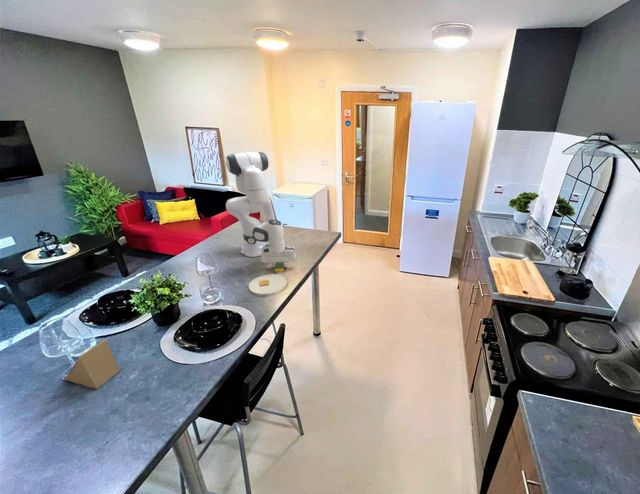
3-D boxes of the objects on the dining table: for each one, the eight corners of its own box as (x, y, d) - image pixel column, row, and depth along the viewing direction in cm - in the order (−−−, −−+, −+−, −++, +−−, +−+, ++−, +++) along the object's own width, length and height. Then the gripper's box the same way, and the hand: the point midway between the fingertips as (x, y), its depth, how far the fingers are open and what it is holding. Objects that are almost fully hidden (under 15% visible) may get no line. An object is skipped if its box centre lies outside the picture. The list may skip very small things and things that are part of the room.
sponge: (277, 267, 178) (276, 260, 176) (285, 266, 179) (284, 260, 177) (274, 273, 171) (274, 266, 169) (283, 273, 172) (282, 266, 170)
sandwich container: (89, 360, 109) (74, 330, 103) (121, 369, 106) (107, 338, 100) (63, 379, 102) (44, 347, 95) (96, 389, 98) (79, 356, 92)
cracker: (260, 281, 160) (259, 280, 159) (268, 280, 161) (268, 279, 160) (259, 286, 156) (259, 285, 155) (268, 285, 157) (268, 283, 157)
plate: (253, 277, 167) (253, 274, 166) (289, 275, 169) (288, 273, 169) (245, 297, 149) (244, 294, 148) (284, 295, 151) (284, 292, 151)
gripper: (296, 244, 173) (297, 264, 178) (260, 245, 170) (263, 265, 176) (295, 248, 167) (296, 269, 173) (258, 250, 164) (261, 271, 170)
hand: (279, 267), depth 174 cm, fingers closed on sponge, 5 cm apart
